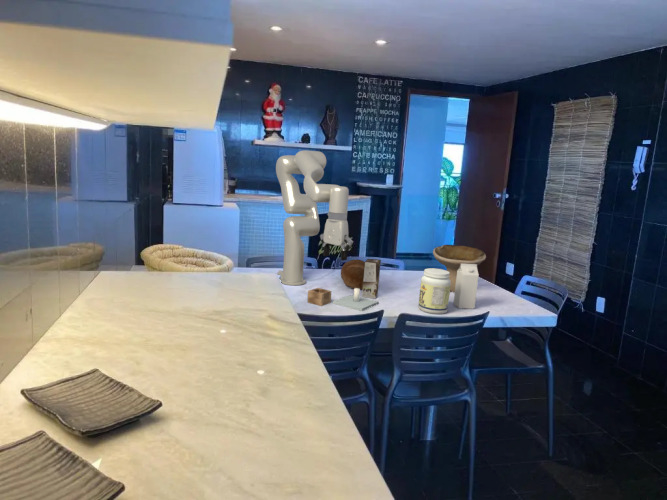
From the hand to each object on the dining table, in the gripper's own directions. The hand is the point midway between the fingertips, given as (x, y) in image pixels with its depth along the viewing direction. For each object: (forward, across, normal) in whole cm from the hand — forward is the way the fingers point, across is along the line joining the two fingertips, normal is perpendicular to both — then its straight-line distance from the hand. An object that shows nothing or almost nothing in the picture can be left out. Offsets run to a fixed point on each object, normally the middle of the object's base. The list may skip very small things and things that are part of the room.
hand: (334, 257), depth 208 cm
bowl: (+20, +19, +70) cm, 75 cm away
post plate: (+19, +7, +8) cm, 22 cm away
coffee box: (+19, +2, +23) cm, 30 cm away
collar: (+19, -3, -4) cm, 20 cm away
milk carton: (+20, +37, +45) cm, 62 cm away
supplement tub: (+20, +32, +28) cm, 47 cm away
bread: (+20, -16, +35) cm, 43 cm away
